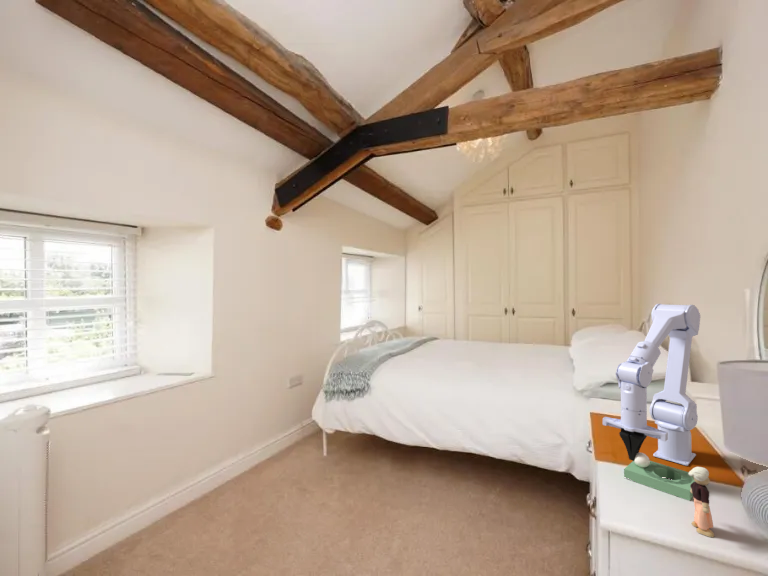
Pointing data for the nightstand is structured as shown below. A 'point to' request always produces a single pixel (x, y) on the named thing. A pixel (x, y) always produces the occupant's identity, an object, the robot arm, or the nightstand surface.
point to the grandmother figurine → (701, 501)
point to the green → (654, 479)
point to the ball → (641, 460)
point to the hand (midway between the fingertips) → (633, 459)
